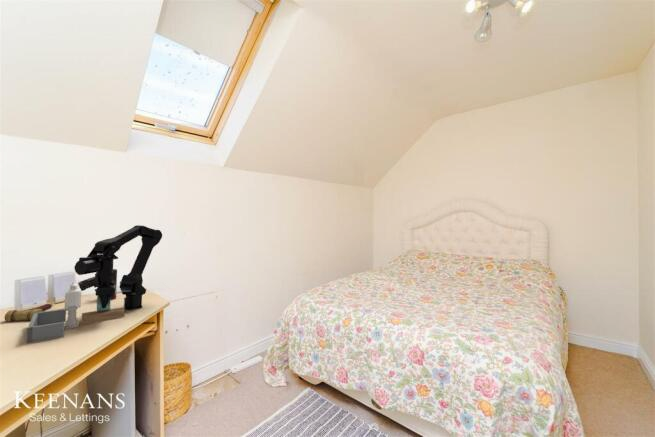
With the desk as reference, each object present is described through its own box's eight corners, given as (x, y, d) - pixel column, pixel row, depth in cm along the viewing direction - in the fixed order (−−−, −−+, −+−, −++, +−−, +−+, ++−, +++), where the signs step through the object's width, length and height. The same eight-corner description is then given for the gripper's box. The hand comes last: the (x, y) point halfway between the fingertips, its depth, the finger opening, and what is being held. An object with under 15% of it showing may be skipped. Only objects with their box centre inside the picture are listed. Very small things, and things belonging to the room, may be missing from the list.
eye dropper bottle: (67, 306, 135) (67, 281, 135) (82, 305, 138) (83, 280, 138) (63, 309, 131) (63, 283, 131) (78, 308, 134) (79, 282, 134)
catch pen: (65, 320, 119) (65, 308, 119) (63, 336, 104) (64, 322, 104) (33, 325, 113) (34, 312, 113) (26, 343, 98) (27, 328, 98)
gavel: (39, 300, 134) (65, 299, 137) (38, 310, 134) (64, 309, 137) (4, 311, 114) (36, 310, 117) (3, 323, 114) (35, 321, 117)
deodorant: (104, 297, 152) (105, 269, 152) (117, 297, 154) (118, 268, 154) (99, 300, 146) (100, 271, 146) (113, 300, 148) (114, 271, 148)
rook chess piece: (70, 324, 115) (70, 304, 115) (82, 324, 115) (82, 304, 115) (60, 329, 110) (61, 308, 110) (73, 329, 111) (73, 308, 111)
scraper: (81, 319, 120) (82, 298, 120) (122, 313, 130) (123, 293, 130) (81, 323, 116) (82, 301, 116) (124, 316, 126) (124, 296, 125)
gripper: (79, 268, 126) (78, 304, 126) (80, 276, 111) (78, 316, 111) (111, 266, 133) (110, 300, 133) (115, 273, 119) (114, 311, 119)
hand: (103, 307), depth 124 cm, fingers closed on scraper, 3 cm apart
